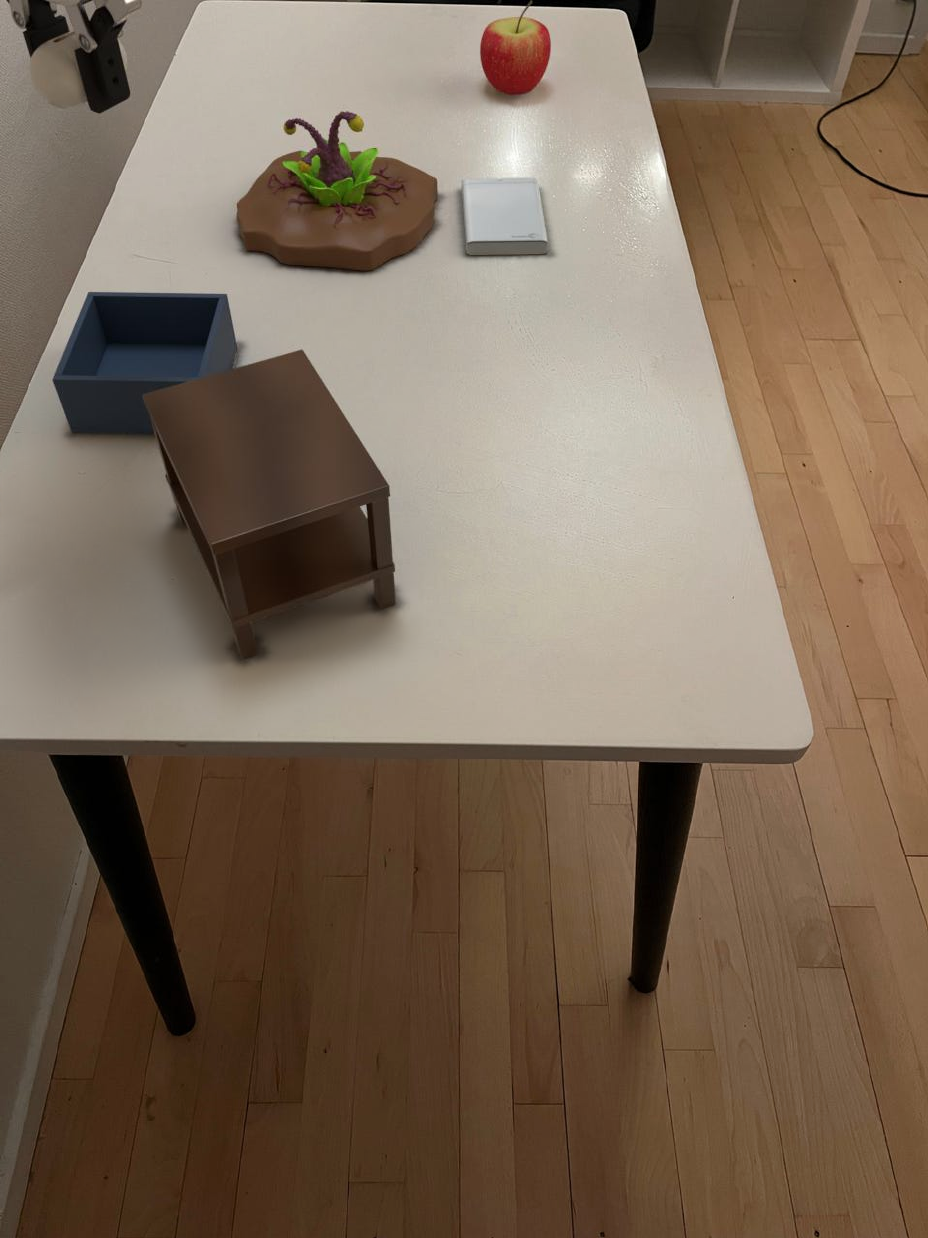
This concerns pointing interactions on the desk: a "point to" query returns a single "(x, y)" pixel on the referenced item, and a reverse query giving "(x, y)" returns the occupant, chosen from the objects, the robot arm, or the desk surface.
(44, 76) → the white capsule
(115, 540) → the desk surface
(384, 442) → the desk surface
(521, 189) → the hard drive
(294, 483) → the side table
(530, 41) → the apple
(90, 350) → the bin
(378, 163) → the plant
